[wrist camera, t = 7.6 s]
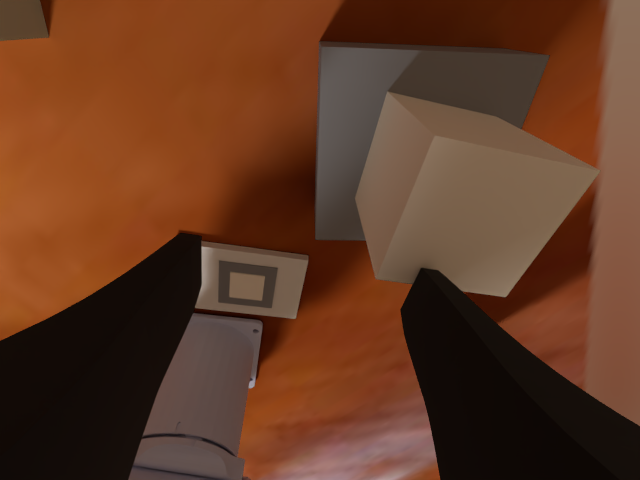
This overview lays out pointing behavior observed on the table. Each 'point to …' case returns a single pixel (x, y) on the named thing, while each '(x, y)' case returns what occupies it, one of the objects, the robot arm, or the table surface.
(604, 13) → the table surface
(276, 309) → the tile
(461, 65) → the gray block
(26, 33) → the sage block
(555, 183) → the cream block
